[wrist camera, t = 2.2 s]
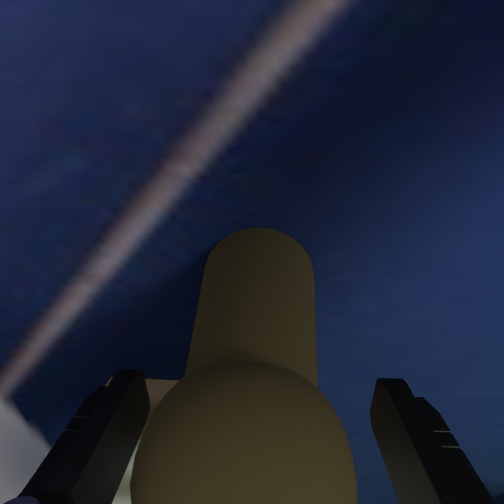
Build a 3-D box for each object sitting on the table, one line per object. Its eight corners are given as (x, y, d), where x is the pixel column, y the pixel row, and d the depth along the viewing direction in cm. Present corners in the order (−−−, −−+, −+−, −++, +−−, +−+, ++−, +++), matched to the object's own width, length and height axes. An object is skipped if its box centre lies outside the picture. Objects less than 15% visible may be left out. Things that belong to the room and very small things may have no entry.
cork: (213, 326, 17) (127, 620, 7) (195, 231, 14) (20, 471, 4) (314, 321, 16) (388, 636, 6) (313, 222, 14) (431, 474, 4)
